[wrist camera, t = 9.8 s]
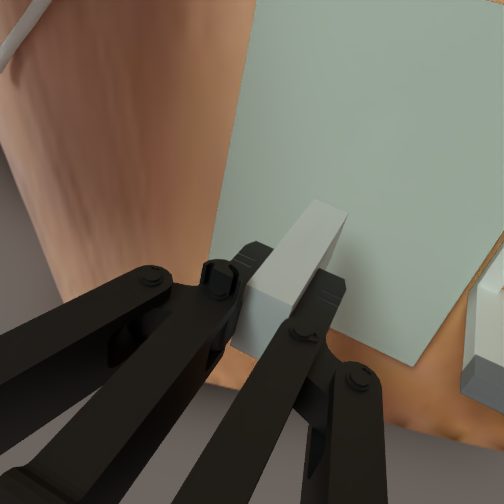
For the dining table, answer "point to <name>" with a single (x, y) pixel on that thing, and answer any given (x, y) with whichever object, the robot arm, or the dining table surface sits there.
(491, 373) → the rack
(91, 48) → the dining table surface
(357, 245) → the plate
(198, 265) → the dining table surface
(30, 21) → the tall slanted-top box
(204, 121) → the dining table surface
